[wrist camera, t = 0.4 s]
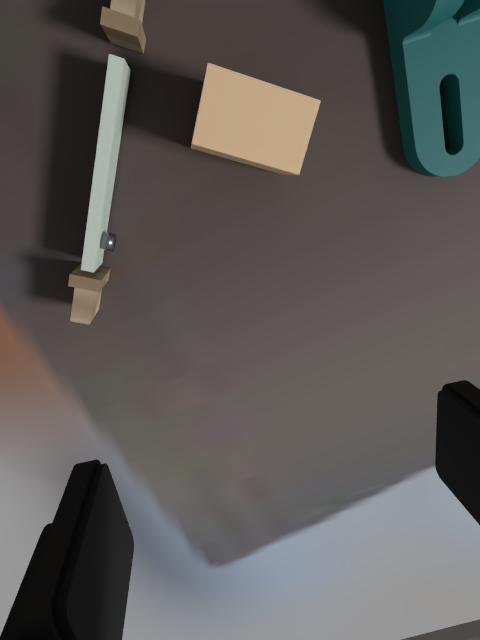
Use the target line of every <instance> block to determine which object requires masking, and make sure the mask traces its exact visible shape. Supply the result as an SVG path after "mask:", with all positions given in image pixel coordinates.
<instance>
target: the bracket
mask: <svg viewBox="0 0 480 640" xmlns="http://www.w3.org/2000/svg"><path fill="white" fill-rule="evenodd" d="M383 3H384V11H385V18H386V26H387V33H388V41H389V48H390V55H391V63H392V70H393V78H394V85H395V93H396V100H397V108H398V115H399V122H400V130H401V137H402V145H403V151H404V155H405V158H406V160H407V162H408V163H409V165H410V166H411V167H412V168H413V169H414V170H415V171H416V172H418V173H420V174H422V175H425V176H437V177H449V176H455V175H458V174H460V173H462V172H464V171H466V170H467V169H469V168H470V167H471V166H472V165H473V164H474V163H475V162H476V161H477V160H478V159H479V158H480V0H383ZM440 82H442V83H443V86H444V96H445V107H446V118H447V128H448V139H449V147H448V149H447V151H446V150H445V142H444V131H443V121H442V110H441V100H440V90H439V86H440Z"/></svg>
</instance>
